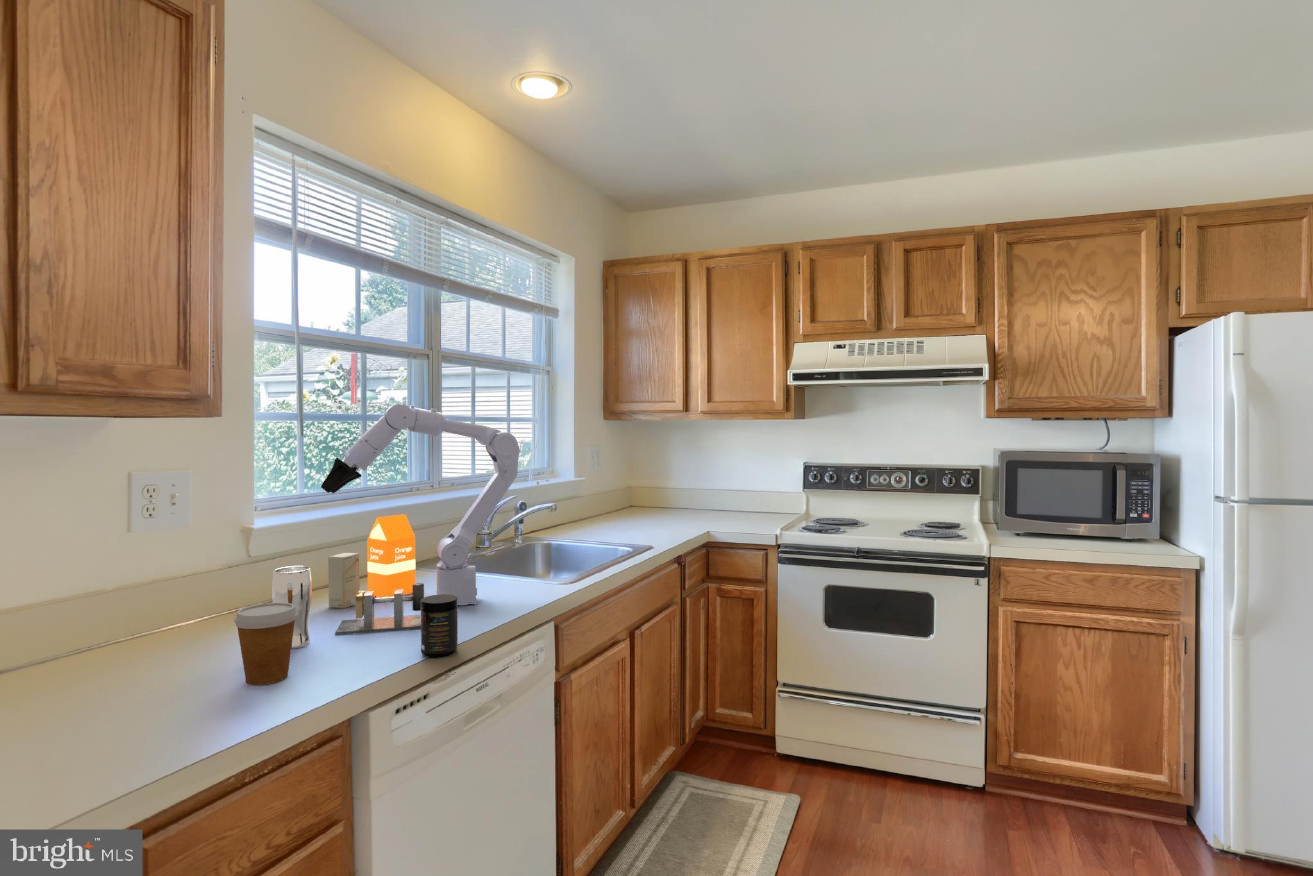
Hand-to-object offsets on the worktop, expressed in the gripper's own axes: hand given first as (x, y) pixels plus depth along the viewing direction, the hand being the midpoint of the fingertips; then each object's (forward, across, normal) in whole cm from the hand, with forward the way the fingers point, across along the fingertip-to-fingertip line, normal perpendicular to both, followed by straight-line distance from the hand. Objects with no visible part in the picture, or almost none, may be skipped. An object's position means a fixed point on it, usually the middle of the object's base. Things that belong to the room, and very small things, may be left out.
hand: (327, 490), depth 157 cm
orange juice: (+11, -21, +27) cm, 36 cm away
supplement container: (+8, +31, +40) cm, 51 cm away
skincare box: (+19, -12, +20) cm, 30 cm away
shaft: (+11, +9, +28) cm, 31 cm away
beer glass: (+25, +17, +18) cm, 36 cm away
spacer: (+13, +9, +22) cm, 28 cm away
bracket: (+14, +9, +29) cm, 34 cm away
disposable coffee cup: (+27, +36, +19) cm, 49 cm away
